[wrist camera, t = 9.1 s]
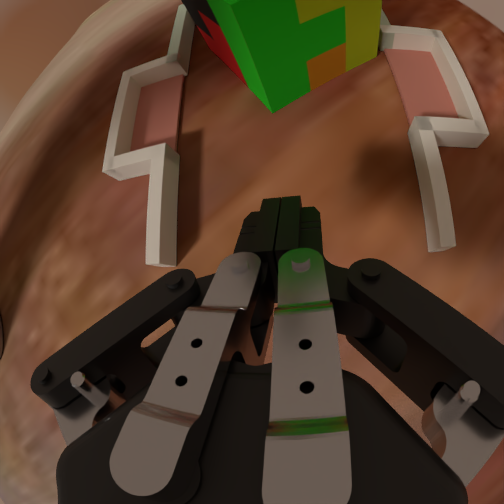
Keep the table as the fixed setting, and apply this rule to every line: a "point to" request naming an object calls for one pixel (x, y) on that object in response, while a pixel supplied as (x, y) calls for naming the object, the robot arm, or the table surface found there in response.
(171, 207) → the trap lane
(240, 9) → the puzzle toy
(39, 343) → the table surface
